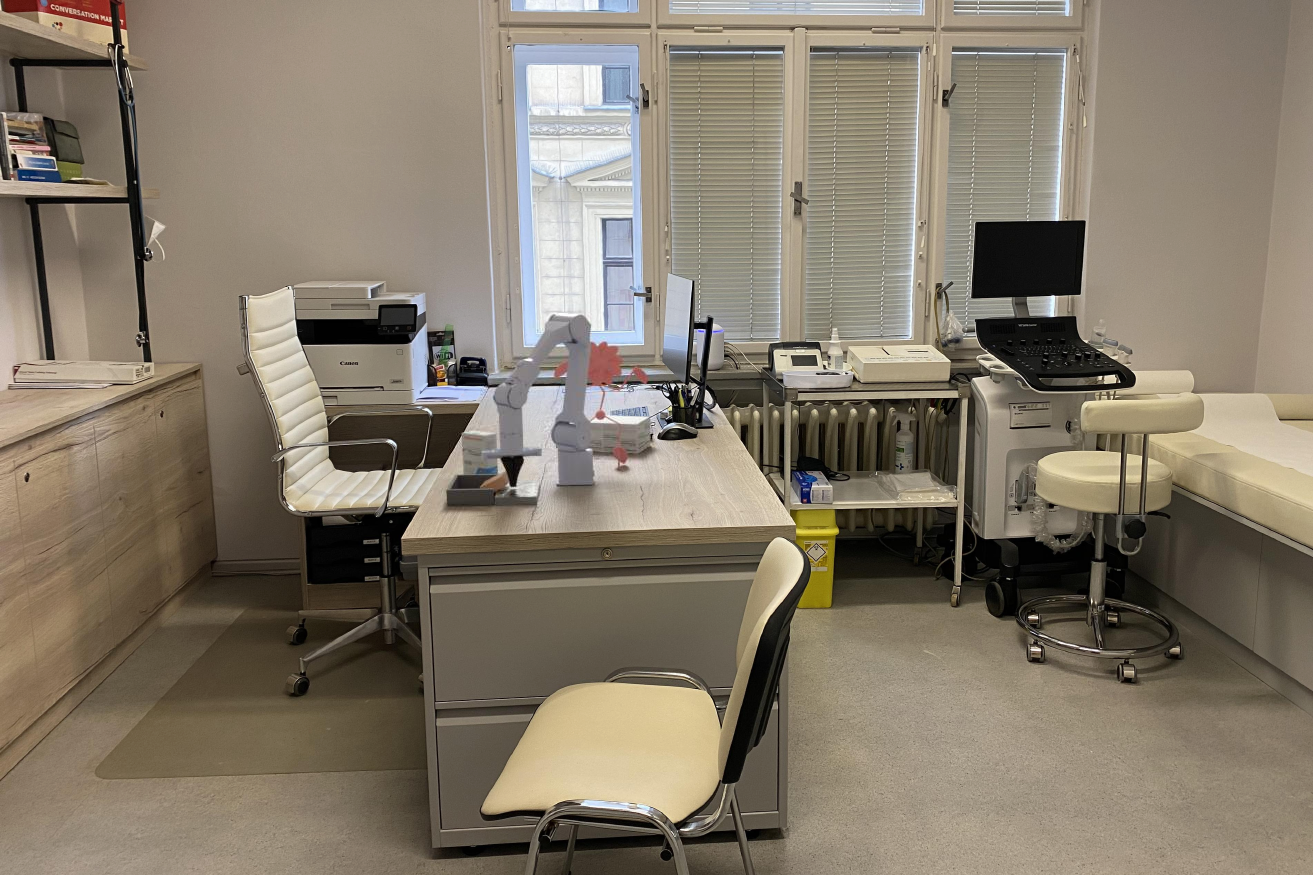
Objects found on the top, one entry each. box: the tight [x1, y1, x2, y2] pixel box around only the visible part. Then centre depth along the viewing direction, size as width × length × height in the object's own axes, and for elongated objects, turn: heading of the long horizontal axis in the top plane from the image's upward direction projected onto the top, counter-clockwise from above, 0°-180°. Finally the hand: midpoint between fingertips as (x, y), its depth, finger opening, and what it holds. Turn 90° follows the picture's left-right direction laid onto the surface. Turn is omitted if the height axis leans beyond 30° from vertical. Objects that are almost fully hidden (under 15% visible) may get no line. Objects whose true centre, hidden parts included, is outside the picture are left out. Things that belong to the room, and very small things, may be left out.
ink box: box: [461, 430, 499, 474], centre depth 273 cm, size 8×5×12 cm, turn 59°
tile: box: [480, 470, 509, 492], centre depth 252 cm, size 6×6×2 cm
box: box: [445, 473, 500, 507], centre depth 250 cm, size 11×16×4 cm
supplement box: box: [588, 414, 651, 455], centre depth 307 cm, size 17×13×9 cm
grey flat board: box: [494, 480, 541, 506], centre depth 251 cm, size 10×16×2 cm, turn 3°
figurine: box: [553, 341, 649, 470], centre depth 283 cm, size 15×26×35 cm, turn 95°
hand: (512, 486), depth 251 cm, fingers closed
